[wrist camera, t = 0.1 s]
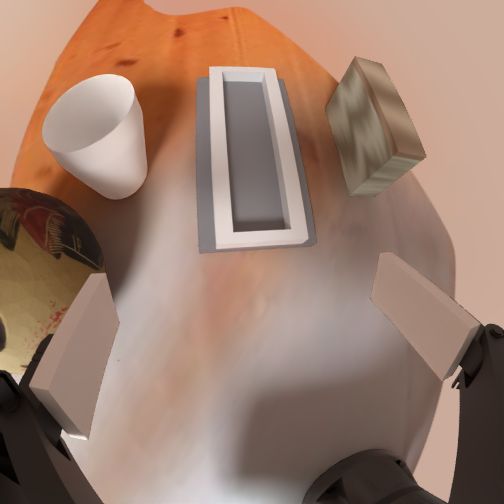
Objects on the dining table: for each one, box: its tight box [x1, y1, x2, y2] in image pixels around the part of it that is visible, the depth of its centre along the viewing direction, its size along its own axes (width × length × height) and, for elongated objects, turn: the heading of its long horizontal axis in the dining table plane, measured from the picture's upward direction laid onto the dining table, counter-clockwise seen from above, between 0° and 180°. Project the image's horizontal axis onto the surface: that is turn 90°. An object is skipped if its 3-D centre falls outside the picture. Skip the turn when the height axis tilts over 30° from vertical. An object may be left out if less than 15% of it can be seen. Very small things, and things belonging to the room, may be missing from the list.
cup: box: [42, 74, 148, 200], centre depth 22 cm, size 9×9×12 cm
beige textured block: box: [325, 56, 426, 197], centre depth 28 cm, size 14×4×11 cm, turn 6°
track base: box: [196, 67, 317, 253], centre depth 29 cm, size 24×12×4 cm, turn 6°
